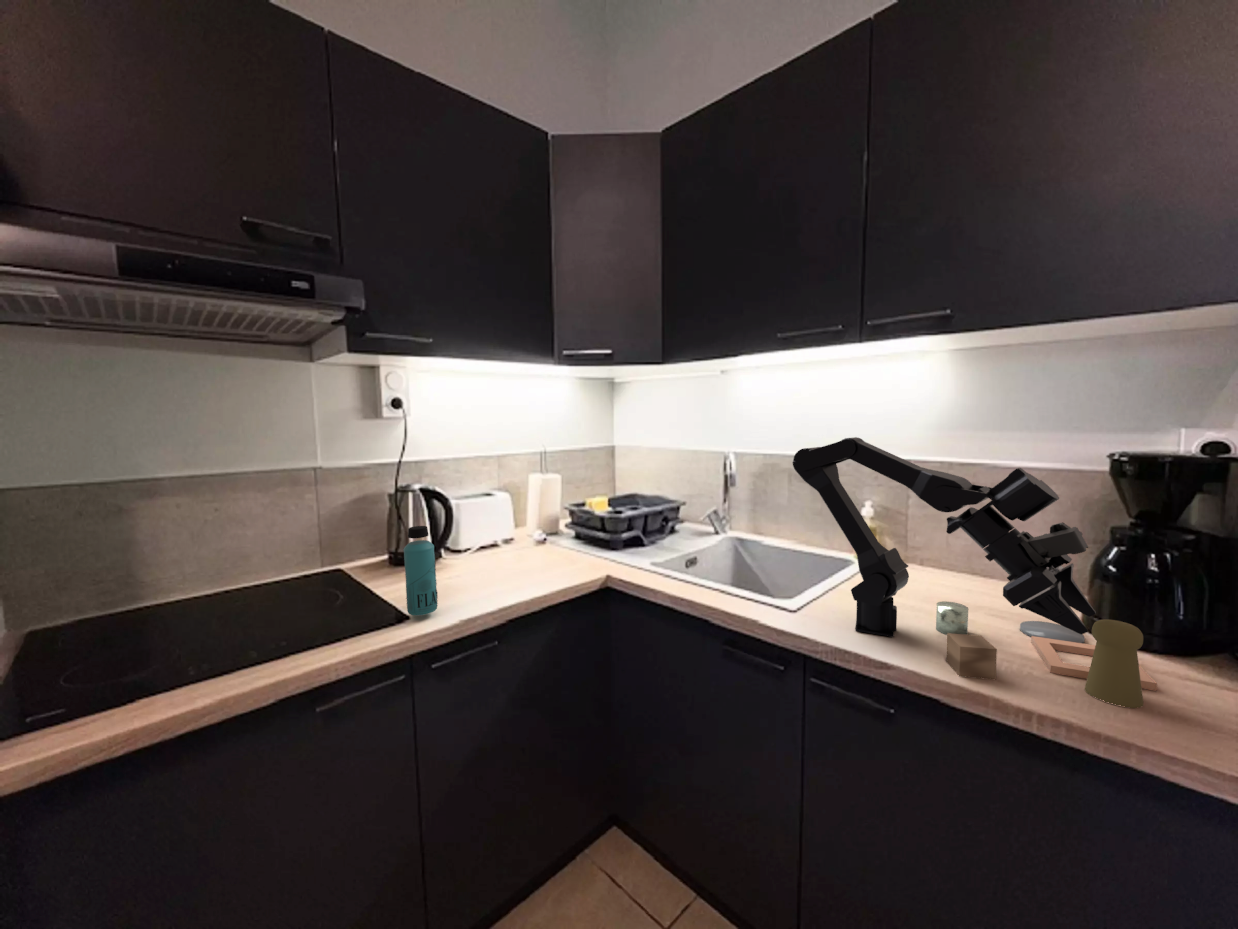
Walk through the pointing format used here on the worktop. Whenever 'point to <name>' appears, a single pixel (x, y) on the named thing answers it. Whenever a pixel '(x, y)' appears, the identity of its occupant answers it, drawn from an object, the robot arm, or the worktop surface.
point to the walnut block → (971, 656)
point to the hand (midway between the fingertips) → (1089, 623)
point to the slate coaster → (1050, 631)
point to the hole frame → (1057, 666)
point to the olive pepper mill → (1116, 664)
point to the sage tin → (951, 618)
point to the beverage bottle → (420, 573)
